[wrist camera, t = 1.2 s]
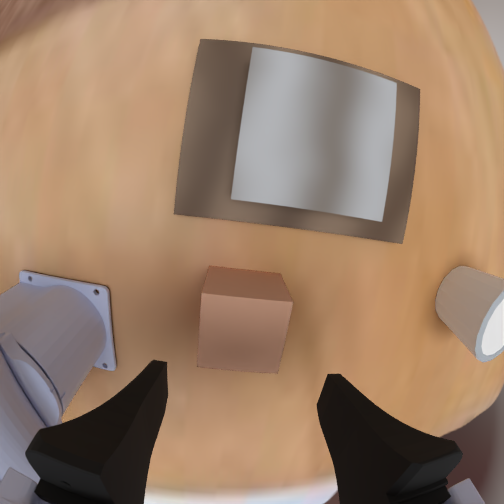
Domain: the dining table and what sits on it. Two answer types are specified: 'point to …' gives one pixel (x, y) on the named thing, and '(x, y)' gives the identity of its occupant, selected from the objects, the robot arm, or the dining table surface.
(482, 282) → the grey cup
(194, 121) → the walnut base
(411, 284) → the dining table surface
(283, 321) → the terracotta block
